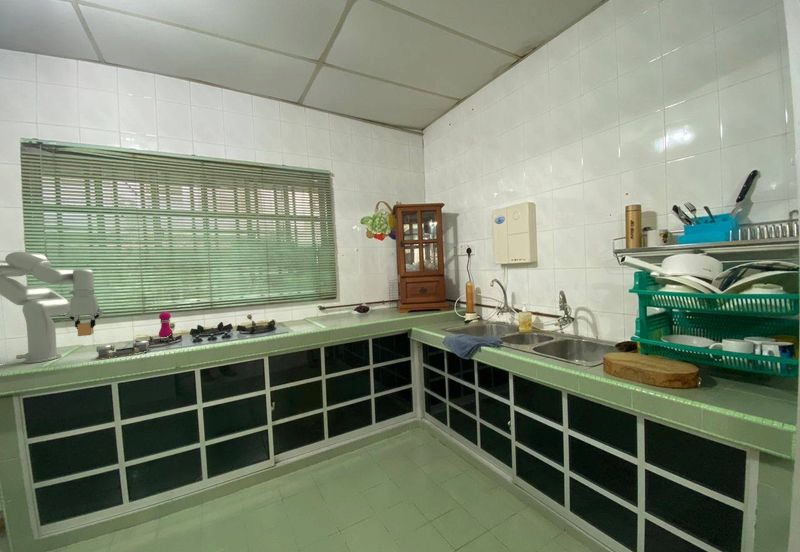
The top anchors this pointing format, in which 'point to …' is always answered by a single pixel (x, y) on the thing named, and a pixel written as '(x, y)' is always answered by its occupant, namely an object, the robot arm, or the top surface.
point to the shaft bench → (121, 350)
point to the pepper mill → (165, 324)
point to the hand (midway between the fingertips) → (85, 327)
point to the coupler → (84, 329)
